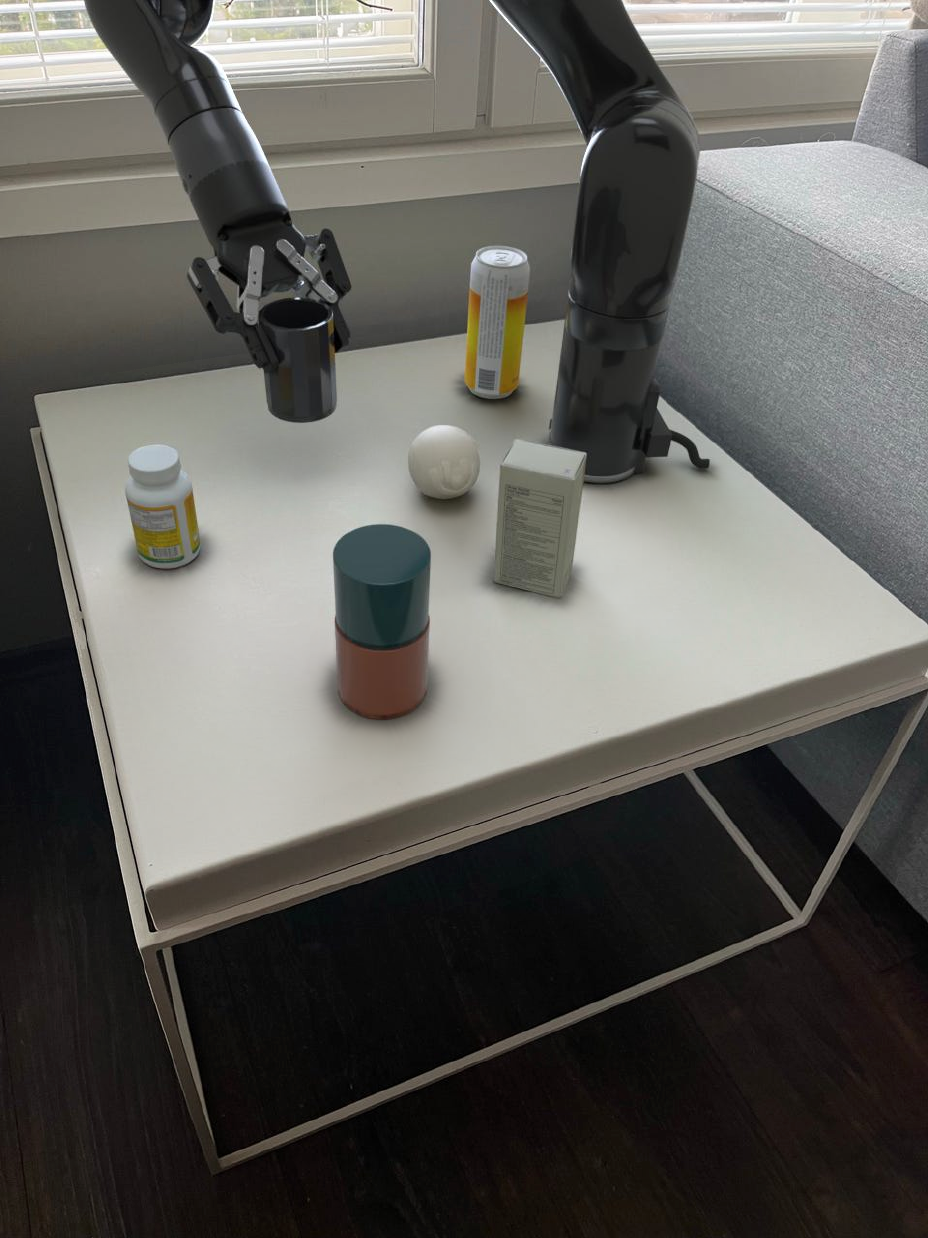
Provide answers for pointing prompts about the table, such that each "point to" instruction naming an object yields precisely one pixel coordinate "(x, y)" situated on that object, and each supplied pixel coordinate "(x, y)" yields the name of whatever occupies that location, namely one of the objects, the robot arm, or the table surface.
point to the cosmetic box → (538, 516)
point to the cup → (300, 359)
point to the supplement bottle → (162, 507)
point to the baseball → (444, 462)
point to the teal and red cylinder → (382, 619)
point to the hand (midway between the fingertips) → (308, 358)
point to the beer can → (496, 321)
